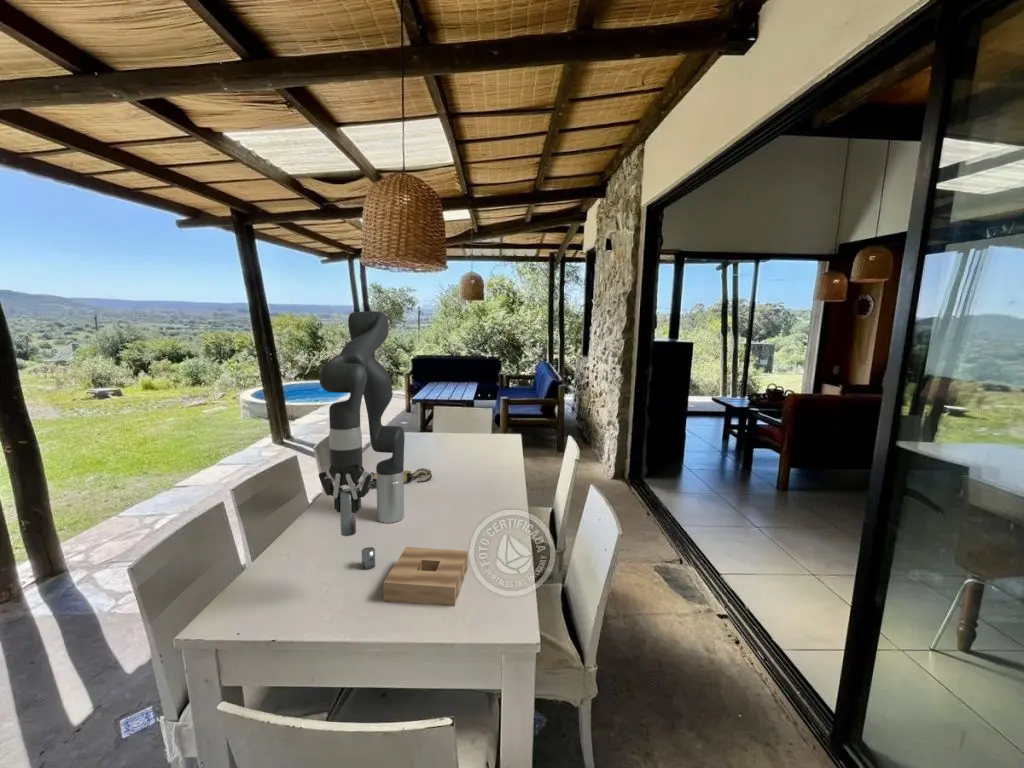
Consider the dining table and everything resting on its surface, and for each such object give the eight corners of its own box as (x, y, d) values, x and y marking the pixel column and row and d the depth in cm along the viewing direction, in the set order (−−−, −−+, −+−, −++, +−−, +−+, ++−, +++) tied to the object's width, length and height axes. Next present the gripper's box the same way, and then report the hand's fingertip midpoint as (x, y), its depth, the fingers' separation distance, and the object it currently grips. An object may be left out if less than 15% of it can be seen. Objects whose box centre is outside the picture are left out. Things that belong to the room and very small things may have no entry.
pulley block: (434, 470, 193) (360, 476, 184) (434, 483, 193) (360, 490, 184) (430, 465, 206) (361, 470, 198) (430, 478, 206) (361, 483, 197)
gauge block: (406, 563, 130) (406, 547, 129) (467, 567, 129) (468, 550, 128) (383, 601, 112) (383, 582, 112) (454, 606, 111) (454, 587, 110)
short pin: (365, 563, 130) (364, 546, 129) (377, 563, 129) (376, 547, 129) (359, 569, 126) (359, 553, 126) (372, 570, 126) (372, 553, 125)
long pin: (344, 529, 115) (343, 488, 113) (358, 530, 115) (357, 488, 113) (338, 535, 111) (336, 493, 110) (352, 536, 111) (351, 494, 110)
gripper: (379, 441, 113) (381, 507, 115) (325, 439, 114) (328, 504, 117) (367, 450, 106) (369, 519, 108) (309, 447, 107) (312, 516, 109)
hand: (347, 511), depth 112 cm, fingers closed on long pin, 3 cm apart
